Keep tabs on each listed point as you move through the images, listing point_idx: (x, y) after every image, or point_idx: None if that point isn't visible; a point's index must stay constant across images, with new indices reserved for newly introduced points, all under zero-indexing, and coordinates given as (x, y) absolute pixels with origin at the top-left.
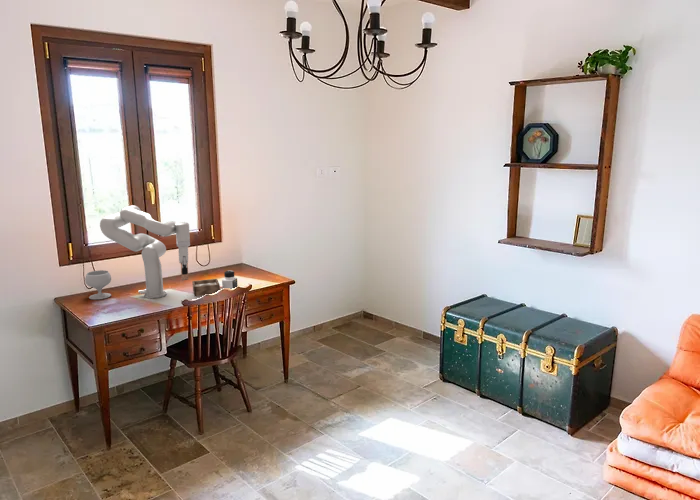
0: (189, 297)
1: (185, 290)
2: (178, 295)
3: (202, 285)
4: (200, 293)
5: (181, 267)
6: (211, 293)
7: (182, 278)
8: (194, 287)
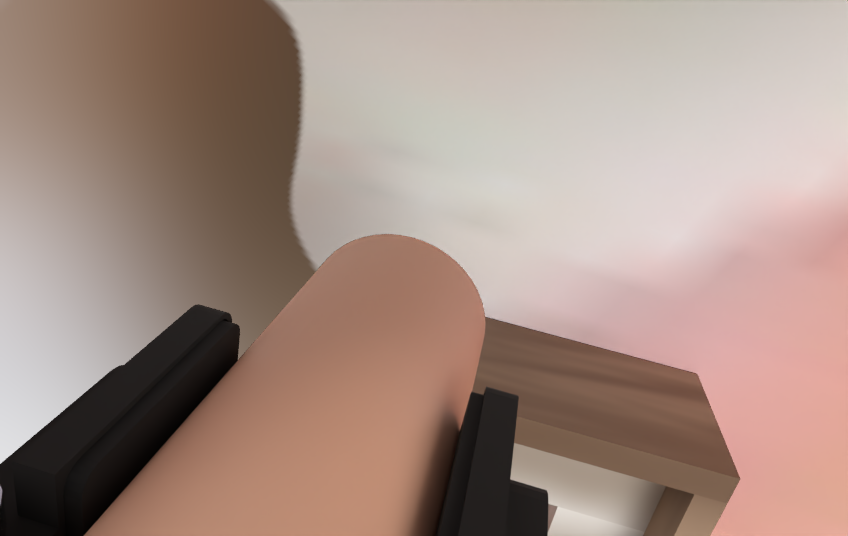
0: (353, 209)
1: (784, 283)
2: (564, 94)
3: (550, 519)
4: None
5: (152, 501)
6: None
7: (330, 262)
8: None
